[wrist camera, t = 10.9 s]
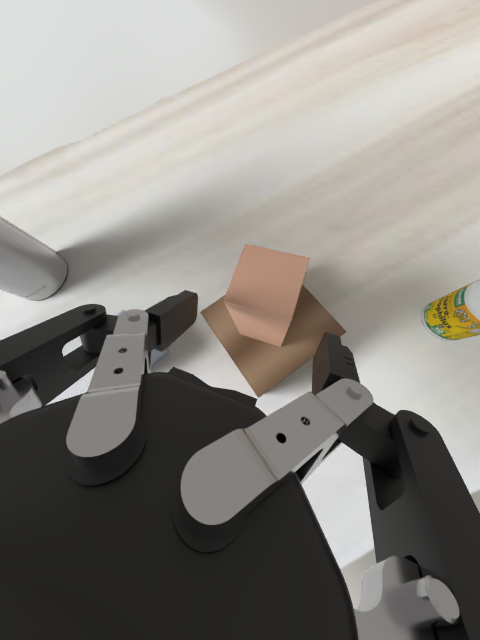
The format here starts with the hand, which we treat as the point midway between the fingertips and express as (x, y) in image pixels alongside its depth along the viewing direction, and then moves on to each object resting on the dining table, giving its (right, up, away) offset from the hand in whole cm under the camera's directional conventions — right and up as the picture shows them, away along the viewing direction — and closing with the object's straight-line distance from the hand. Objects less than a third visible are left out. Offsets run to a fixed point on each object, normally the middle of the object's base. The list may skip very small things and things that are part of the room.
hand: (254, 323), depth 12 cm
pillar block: (+2, 0, +11) cm, 11 cm away
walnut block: (+3, -2, +17) cm, 17 cm away
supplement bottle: (+26, 0, +15) cm, 30 cm away
